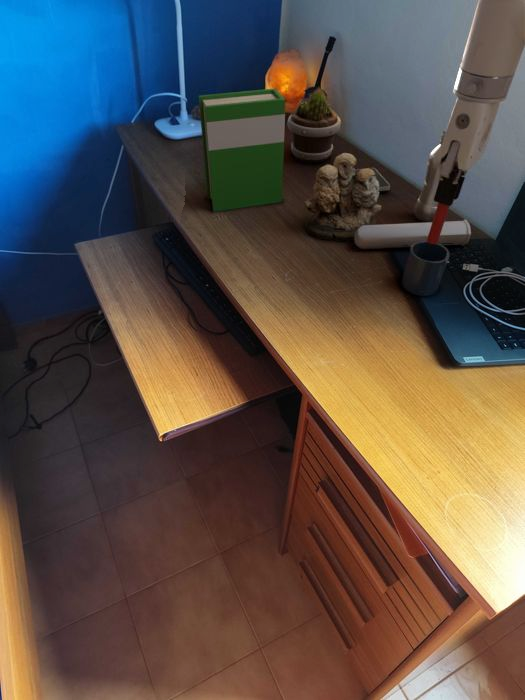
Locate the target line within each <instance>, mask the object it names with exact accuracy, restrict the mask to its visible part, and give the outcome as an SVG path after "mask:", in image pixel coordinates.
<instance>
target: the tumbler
mask: <svg viewBox="0 0 525 700" xmlns="http://www.w3.org/2000/svg"><path fill="white" fill-rule="evenodd" d="M409 248H410V249H409V252H408V256H407V260H406V263H405V267H404V270H403V274H402V276H401V286H402V287H403V289H405V290H406V291H407V292H408V293H411V294H412V295H416V296H421V297H427V296H431V295H433V294H436V292H437V291H438V289H439V288H440V284H441V282H442V279H443V276H444V273H445V271H446V267H447V265H448V262H449V259H450V251H449V250H448V248H447V247H446V246H445V245H441V244H438V243H436V244H430V243H428V242H427V241H419V242H417V243H414V244H413V245H412V246H411V247H409ZM435 289H436V290H435ZM433 290H434V291H433ZM420 291H422V292H420ZM428 291H431V292H428Z"/></svg>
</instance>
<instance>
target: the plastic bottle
mask: <svg viewBox="0 0 525 700" xmlns="http://www.w3.org/2000/svg"><path fill="white" fill-rule="evenodd" d="M445 133H446V130H444V131H442V132H441V135H440V138H439V141H438V143H439V144H438V145H437V146H435V147H434V149H433V150H431V152H430V154H429V155H428V159H427V166H426V172H425V178H424V183H423V186H422V188H421V190H420V194H419V196H418V198H417V200H416V203H415V205H414V211H413V212H414V216H415V218H416V219H417V220H419V221H421V222H422V223H428V222H433V219H434V215H435V212H436V209H437V206H438V202H435V201H434V197H435V193H436V190H437V187H438V183H439V180H440V174H441V171H442V168H443V166H444V163H445V162H444V163H443V164H442V165H440V164H439V162H438V158H439V154H440V150H441V146H442V142H443V139H444V136H445Z"/></svg>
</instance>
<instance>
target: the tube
mask: <svg viewBox="0 0 525 700" xmlns="http://www.w3.org/2000/svg"><path fill="white" fill-rule="evenodd" d="M431 225H432V222H408V223H388V224H387V223H386V224H377V225H363V226H361V227H360V228H359V229H357V230H356V231H355V236H354V240H353V241H354V244H355V246H357V248H359V249H360V250H376V249H377V250H379V249H396V248H400V249H401V248H411V246H412V245H413V244H414V243H417V242H419V241H427V238H428V235H429V232H430V228H431ZM471 235H472V231H471V225H470V223H469V221H468V220H467V219H463V220H454V221H453V220H451V221H445V222H444V225H443V228H442V231H441V234H440V237H439V240H438V244H441V245H442V246H465V245H466V244H468V243H469V241H470V239H471ZM442 243H454V244H442ZM402 245H408V246H402Z"/></svg>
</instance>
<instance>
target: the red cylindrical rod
mask: <svg viewBox="0 0 525 700" xmlns="http://www.w3.org/2000/svg"><path fill="white" fill-rule="evenodd" d="M452 171H455V174H456V171H457V170H455V169H452ZM449 209H450V206H447V205H444V204H441V203H438V206H437V209H436V212H435V215H434V219H433V222H432V225H431V228H430V232H429V235H428V238H427V242H428V243H430V244H436V243H438V240H439V237H440V234H441V231H442V228H443V225H444V222H446V218H447V215H448V213H449Z"/></svg>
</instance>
